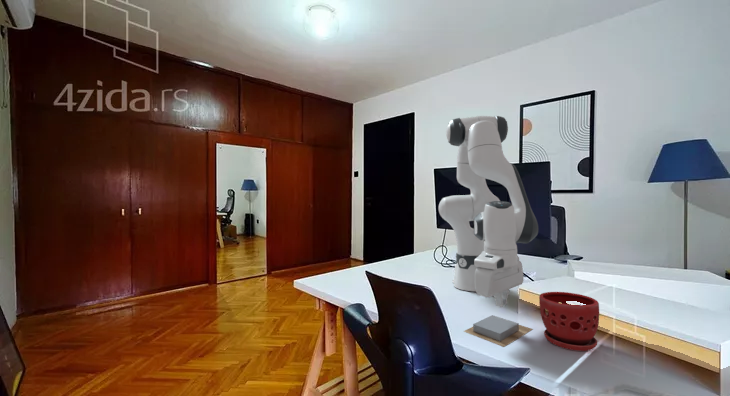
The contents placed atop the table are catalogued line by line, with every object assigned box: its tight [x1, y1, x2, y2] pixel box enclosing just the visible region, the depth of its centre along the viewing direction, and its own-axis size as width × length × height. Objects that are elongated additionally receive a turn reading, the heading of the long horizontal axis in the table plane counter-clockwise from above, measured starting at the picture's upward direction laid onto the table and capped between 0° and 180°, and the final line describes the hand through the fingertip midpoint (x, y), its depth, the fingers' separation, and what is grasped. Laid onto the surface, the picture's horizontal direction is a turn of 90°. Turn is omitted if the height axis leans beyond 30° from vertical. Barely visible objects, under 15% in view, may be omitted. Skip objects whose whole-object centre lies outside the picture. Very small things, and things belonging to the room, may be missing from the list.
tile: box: [472, 315, 520, 341], centre depth 88 cm, size 2×8×10 cm
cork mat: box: [463, 324, 534, 348], centre depth 88 cm, size 16×12×1 cm
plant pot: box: [538, 291, 600, 352], centre depth 81 cm, size 13×13×12 cm
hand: (501, 305), depth 90 cm, fingers closed
